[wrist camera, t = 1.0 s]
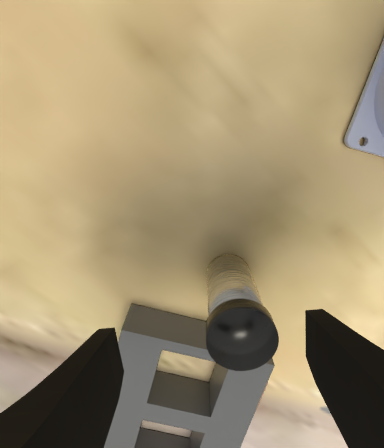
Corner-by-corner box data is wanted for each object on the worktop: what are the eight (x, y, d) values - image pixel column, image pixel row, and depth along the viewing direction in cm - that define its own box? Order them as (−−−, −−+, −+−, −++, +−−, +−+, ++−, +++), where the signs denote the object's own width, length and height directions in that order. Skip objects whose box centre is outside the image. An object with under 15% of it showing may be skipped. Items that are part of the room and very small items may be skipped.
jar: (259, 258, 21) (289, 319, 14) (244, 301, 22) (265, 377, 15) (211, 246, 20) (217, 302, 14) (197, 290, 21) (198, 362, 15)
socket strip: (268, 336, 22) (278, 366, 20) (222, 452, 26) (225, 492, 23) (131, 303, 22) (121, 329, 19) (102, 426, 25) (90, 464, 22)
